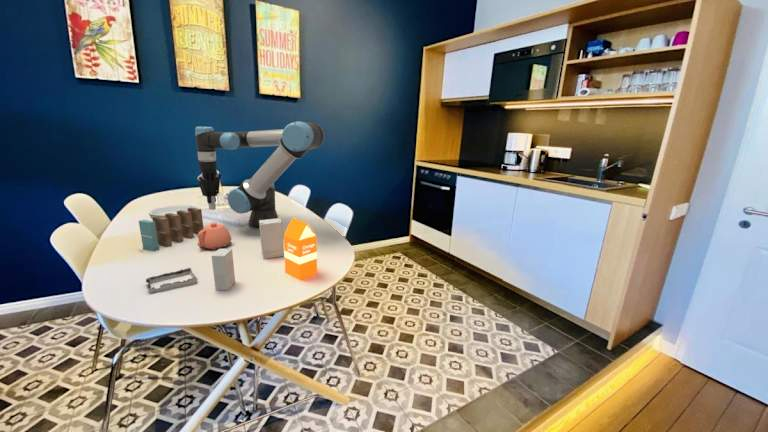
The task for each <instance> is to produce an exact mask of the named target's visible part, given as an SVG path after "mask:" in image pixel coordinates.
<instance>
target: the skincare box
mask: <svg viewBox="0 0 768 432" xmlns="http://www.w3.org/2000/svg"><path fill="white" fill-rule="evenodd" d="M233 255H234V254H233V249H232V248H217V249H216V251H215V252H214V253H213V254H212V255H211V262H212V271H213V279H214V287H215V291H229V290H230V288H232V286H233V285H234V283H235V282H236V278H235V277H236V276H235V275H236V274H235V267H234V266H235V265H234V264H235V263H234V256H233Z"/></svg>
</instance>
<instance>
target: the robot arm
mask: <svg viewBox="0 0 768 432" xmlns="http://www.w3.org/2000/svg"><path fill="white" fill-rule="evenodd" d="M194 130H195V131H194V132H195V142H196V149H197V160H198V168H199V170H200V172H199V175H198V176H196V177H195V179H196V180H197V182H198V185H199V189H200V192H201V193H202V196H204V197H206V201H207V204H208V209H209V210H213V211H214V210H217V209H216V207H217V205H216V202H217V196H218V195H219V193H220V185H221V184H220V183H221V177H222V174H221V173H218V170H217V169H218V162H217V161H216V160H217V153H216V152H217V151H216V149H217V150H227V151H230V150H231V151H232V150H233V151H234V150H237V149H244V148H261V147H262V148H263V147H277V148H276V149H275V150H274V151H273V152H272V154H271V155H270V156H269V157H268V158H267V159H266V161H265V162H264V163H263V164H262V165H261V166H260V168H258V170H257V171H256V172H255V173H254V174H253V175H252V177H251V178H249V179H245V180H243V181H242V183H241V184H239V186H238V187H237V188H233V189H231V190H230V191H229V192H228V193H227V194H228V195H227V203H228V205H229V207H230V208H231V210H232V211H233V212H235V213H236V214H247V213H249V212H250V214H249V215H250V216H249V220H248V226H249V227H250V228H252V229H259V230H260V226H259V220H267V219H276V218H279V215H278V213H277V210H276V191H275V190H276V188H275V182H276V181H277V180H278V179H279V178H280V177H281V176H282V175H283V173H284V172H285V171H287V169H288V168H289V167H290V166H291V165H292V164H293V163H294V162H295V160H296V159H297V160H298V159H299V160H300V159H302V158H303V157H304V156H305V155H306V154H307V153H308V152H309V151H310V150H315V149H318V148H320V147H321V146H322V144H323V143H324V141H325V132H324V129H323V128H322V126H321V125H319V124H317V123H315V122H308V121H307V122H304V121H294V122H290V123H288V124H287V125H286V126H285V127H284V129H283V128H281V129H266V130H254V131H253V130H252V131H233V132H232V131H227V132H226V131H215V129H214V127H212V126H196V127H195V128H194Z"/></svg>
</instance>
